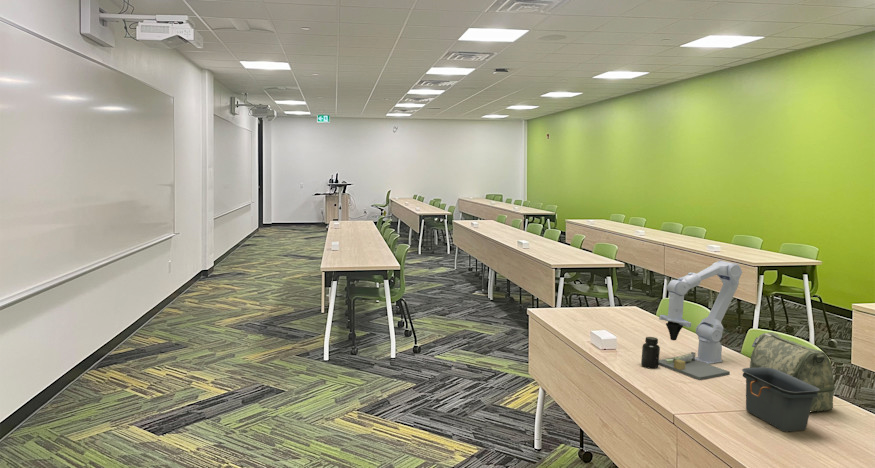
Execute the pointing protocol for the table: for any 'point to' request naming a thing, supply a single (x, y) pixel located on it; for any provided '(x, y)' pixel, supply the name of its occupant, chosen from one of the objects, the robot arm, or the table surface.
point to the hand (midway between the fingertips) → (673, 339)
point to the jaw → (684, 357)
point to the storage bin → (778, 398)
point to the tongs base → (695, 368)
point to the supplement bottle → (650, 353)
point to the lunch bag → (796, 365)
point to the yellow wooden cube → (679, 364)
